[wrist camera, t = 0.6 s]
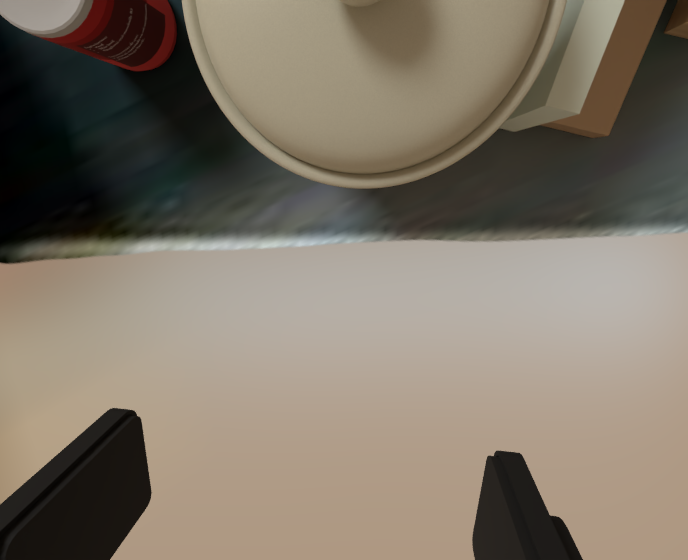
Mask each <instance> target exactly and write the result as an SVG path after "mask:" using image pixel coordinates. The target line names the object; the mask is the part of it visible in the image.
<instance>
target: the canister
mask: <svg viewBox="0 0 688 560" xmlns="http://www.w3.org/2000/svg"><path fill="white" fill-rule="evenodd" d="M566 3H567V0H182V5H183V12H184V18H185V23H186V28H187V33H188V36H189V40H190V44H191V47H192V50H193V53H194V56H195V59H196V62H197V64H198V67H199V69H200V72H201V74H202V76H203V78H204V81H205V83H206V85H207V87H208V89H209V90H210V92H211V94H212V96H213V97H214V99H215V101H216V102H217V104H218V106H219V107H220V109H221V110H222V111H223V113H224V114H225V116H226V117H227V118H228V120H229V121H230V122H231V123H232V125H233V126H234V127H235V128H236V129H237V130H238V131H239V133H240V134H241V135H242V136H243V137H244V138H245V139H246V140H247V141H248V142H249V143H251V144H252V145H253V146H254V147H255V148H256V149H257V150H259V151H260V152H261V153H262V154H264V155H265V156H266V157H268V158H269V159H271V160H272V161H274V162H275V163H277V164H278V165H280V166H282V167H284V168H285V169H287V170H289V171H291V172H293V173H295V174H298V175H300V176H302V177H305V178H307V179H310V180H313V181H316V182H320V183H323V184H328V185H332V186H338V187H345V188H359V189H370V188H383V187H390V186H396V185H401V184H405V183H409V182H412V181H415V180H419V179H421V178H424V177H427V176H429V175H432V174H434V173H436V172H438V171H441V170H443V169H445V168H446V167H448V166H450V165H452V164H454V163H455V162H457V161H459V160H460V159H462V158H463V157H465V156H466V155H468V154H469V153H471V152H472V151H473V150H475V149H476V148H477V147H479V146H480V145H481V144H482V143H483V142H485V141H486V140H487V139H488V138H489V137H490V136H491V135H492V134H493V133H495V132H496V131H497V130H498V129H499V128H500V127H501V125H502V124H503V123H504V122H505V121H506V120H507V119H508V118H509V117H510V115H511V114H512V113H513V112H514V111H515V109H516V108H517V107H518V106H519V104H520V103H521V102H522V100H523V99H524V97H525V96H526V94H527V93H528V92H529V90H530V88H531V87H532V85H533V84H534V82H535V80H536V79H537V77H538V75H539V73H540V71H541V70H542V68H543V66H544V64H545V62H546V60H547V58H548V55H549V53H550V51H551V49H552V46H553V44H554V41H555V39H556V36H557V33H558V30H559V27H560V24H561V21H562V18H563V14H564V11H565V7H566Z"/></svg>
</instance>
